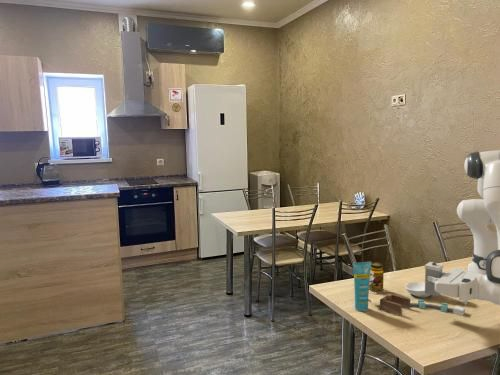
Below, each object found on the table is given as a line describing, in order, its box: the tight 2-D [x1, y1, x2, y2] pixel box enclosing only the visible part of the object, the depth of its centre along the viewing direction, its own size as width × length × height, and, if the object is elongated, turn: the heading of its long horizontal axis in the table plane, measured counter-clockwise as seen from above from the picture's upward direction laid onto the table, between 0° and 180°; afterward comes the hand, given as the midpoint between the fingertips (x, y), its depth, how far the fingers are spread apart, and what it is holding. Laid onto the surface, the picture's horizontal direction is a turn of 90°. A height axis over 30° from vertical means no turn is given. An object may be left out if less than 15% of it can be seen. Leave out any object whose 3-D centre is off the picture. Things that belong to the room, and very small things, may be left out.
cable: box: [410, 302, 466, 317], centre depth 147 cm, size 4×22×2 cm, turn 64°
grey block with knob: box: [424, 261, 444, 297], centre depth 141 cm, size 5×5×12 cm
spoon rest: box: [404, 281, 469, 306], centre depth 158 cm, size 24×12×7 cm, turn 56°
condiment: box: [369, 262, 388, 295], centre depth 168 cm, size 7×8×12 cm
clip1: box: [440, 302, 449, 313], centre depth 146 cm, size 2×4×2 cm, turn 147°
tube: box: [352, 260, 372, 312], centre depth 148 cm, size 7×5×19 cm, turn 103°
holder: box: [379, 292, 411, 316], centre depth 148 cm, size 9×8×4 cm
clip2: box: [417, 299, 426, 310], centre depth 150 cm, size 2×4×2 cm, turn 168°
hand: (431, 275), depth 141 cm, fingers closed on grey block with knob, 4 cm apart
